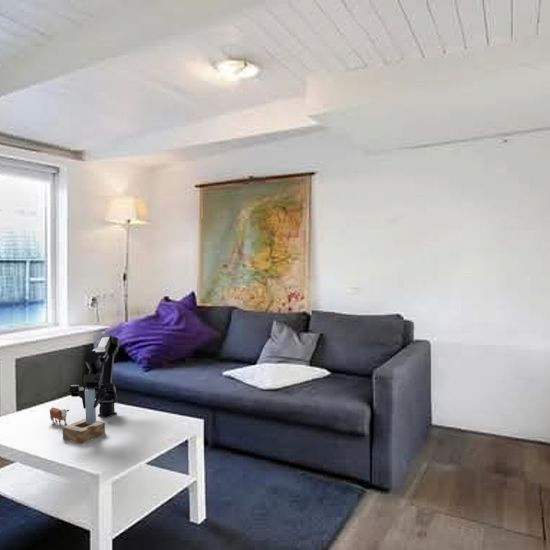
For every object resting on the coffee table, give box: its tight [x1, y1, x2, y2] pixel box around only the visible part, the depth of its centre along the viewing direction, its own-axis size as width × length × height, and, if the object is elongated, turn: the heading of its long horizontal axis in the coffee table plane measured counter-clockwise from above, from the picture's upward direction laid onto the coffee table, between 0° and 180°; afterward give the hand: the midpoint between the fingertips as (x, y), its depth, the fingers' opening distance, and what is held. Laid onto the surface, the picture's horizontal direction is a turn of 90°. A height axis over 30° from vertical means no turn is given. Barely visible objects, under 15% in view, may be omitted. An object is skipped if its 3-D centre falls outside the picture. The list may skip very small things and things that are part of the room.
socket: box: [62, 418, 106, 445], centre depth 198 cm, size 12×12×5 cm
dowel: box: [84, 389, 97, 424], centre depth 196 cm, size 4×4×14 cm
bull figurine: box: [49, 406, 70, 427], centre depth 214 cm, size 4×13×8 cm, turn 53°
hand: (89, 408), depth 195 cm, fingers closed on dowel, 4 cm apart
